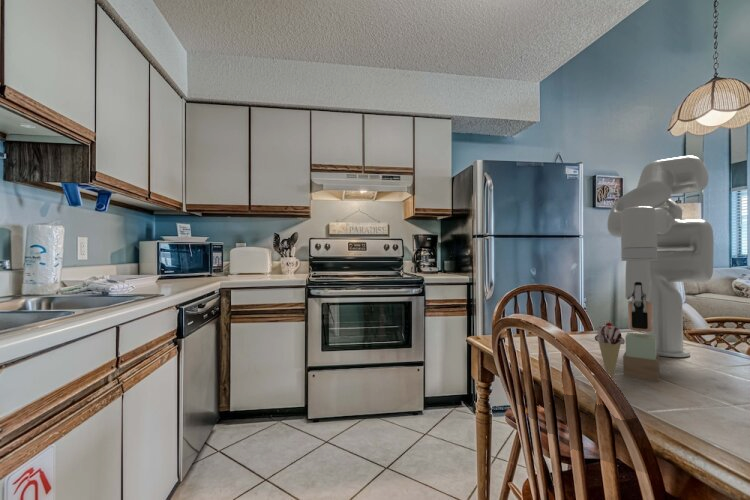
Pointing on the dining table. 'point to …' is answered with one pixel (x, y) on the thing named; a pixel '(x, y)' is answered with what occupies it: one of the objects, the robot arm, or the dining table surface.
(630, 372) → the base block
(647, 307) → the tan rounded capsule
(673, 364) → the dining table surface
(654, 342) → the pale green block
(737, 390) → the dining table surface
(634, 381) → the dining table surface
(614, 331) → the ice cream cone
